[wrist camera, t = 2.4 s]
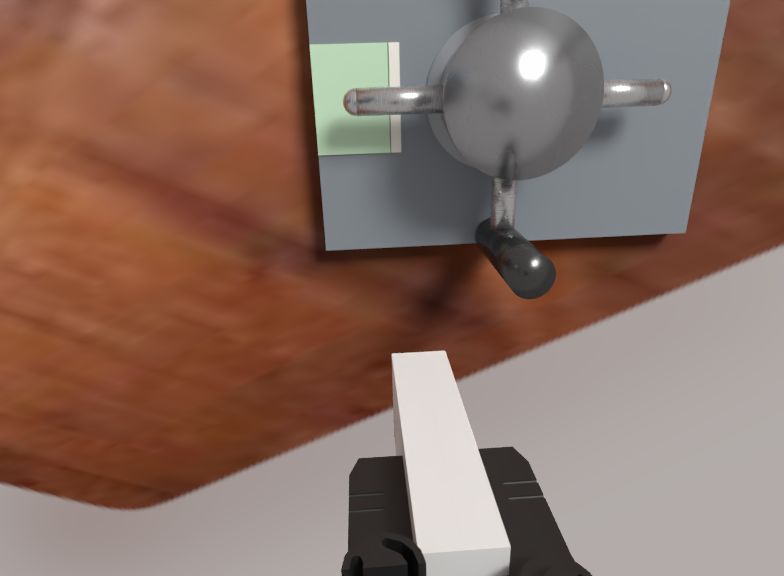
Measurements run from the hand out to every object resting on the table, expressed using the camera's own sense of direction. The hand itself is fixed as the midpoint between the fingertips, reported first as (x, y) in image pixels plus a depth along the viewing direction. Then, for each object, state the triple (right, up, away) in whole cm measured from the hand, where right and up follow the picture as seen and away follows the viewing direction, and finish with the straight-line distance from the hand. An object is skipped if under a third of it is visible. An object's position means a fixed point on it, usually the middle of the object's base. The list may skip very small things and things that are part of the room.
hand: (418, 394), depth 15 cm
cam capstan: (+4, +12, +11) cm, 17 cm away
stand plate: (+5, +12, +12) cm, 18 cm away
